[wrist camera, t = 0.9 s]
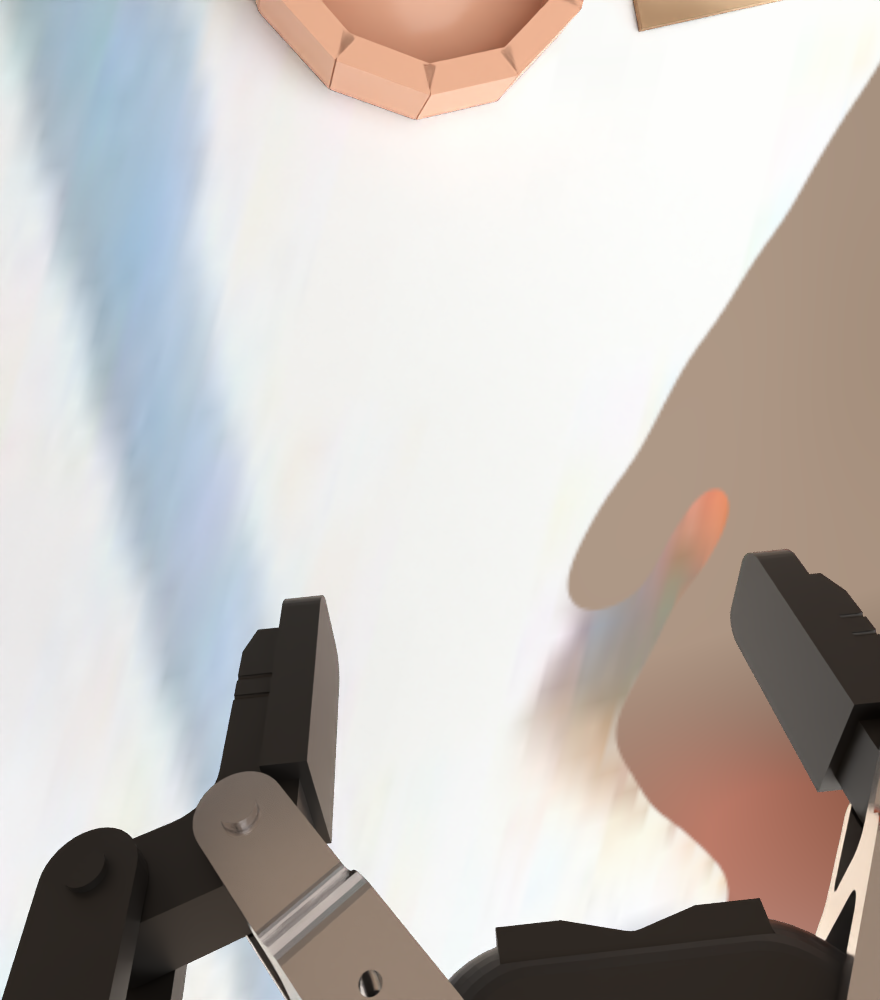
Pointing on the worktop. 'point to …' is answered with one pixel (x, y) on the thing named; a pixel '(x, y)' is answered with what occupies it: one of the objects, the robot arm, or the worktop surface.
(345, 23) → the bowl
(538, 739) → the worktop surface
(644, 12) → the cork mat
